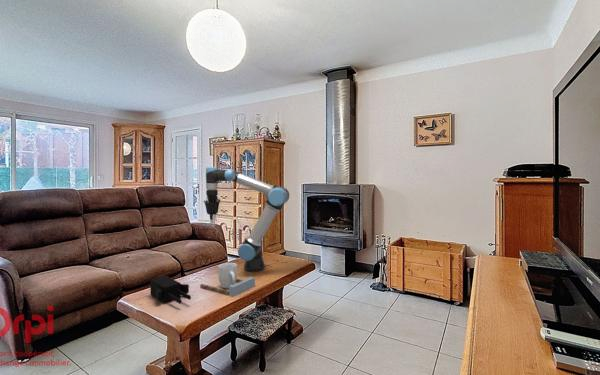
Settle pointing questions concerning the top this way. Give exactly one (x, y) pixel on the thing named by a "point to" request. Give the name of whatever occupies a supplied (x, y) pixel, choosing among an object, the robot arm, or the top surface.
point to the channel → (217, 288)
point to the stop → (241, 286)
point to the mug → (227, 274)
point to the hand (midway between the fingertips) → (212, 224)
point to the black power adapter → (168, 290)
